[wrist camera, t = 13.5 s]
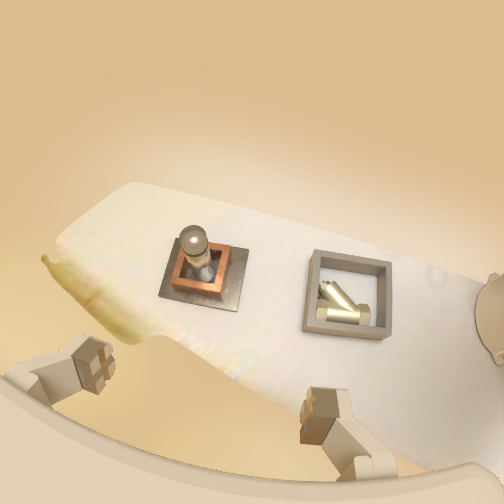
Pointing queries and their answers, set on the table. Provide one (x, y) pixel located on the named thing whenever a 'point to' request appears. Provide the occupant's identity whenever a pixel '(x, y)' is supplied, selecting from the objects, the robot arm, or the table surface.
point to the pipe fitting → (339, 306)
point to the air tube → (197, 252)
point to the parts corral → (353, 265)
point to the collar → (214, 291)
